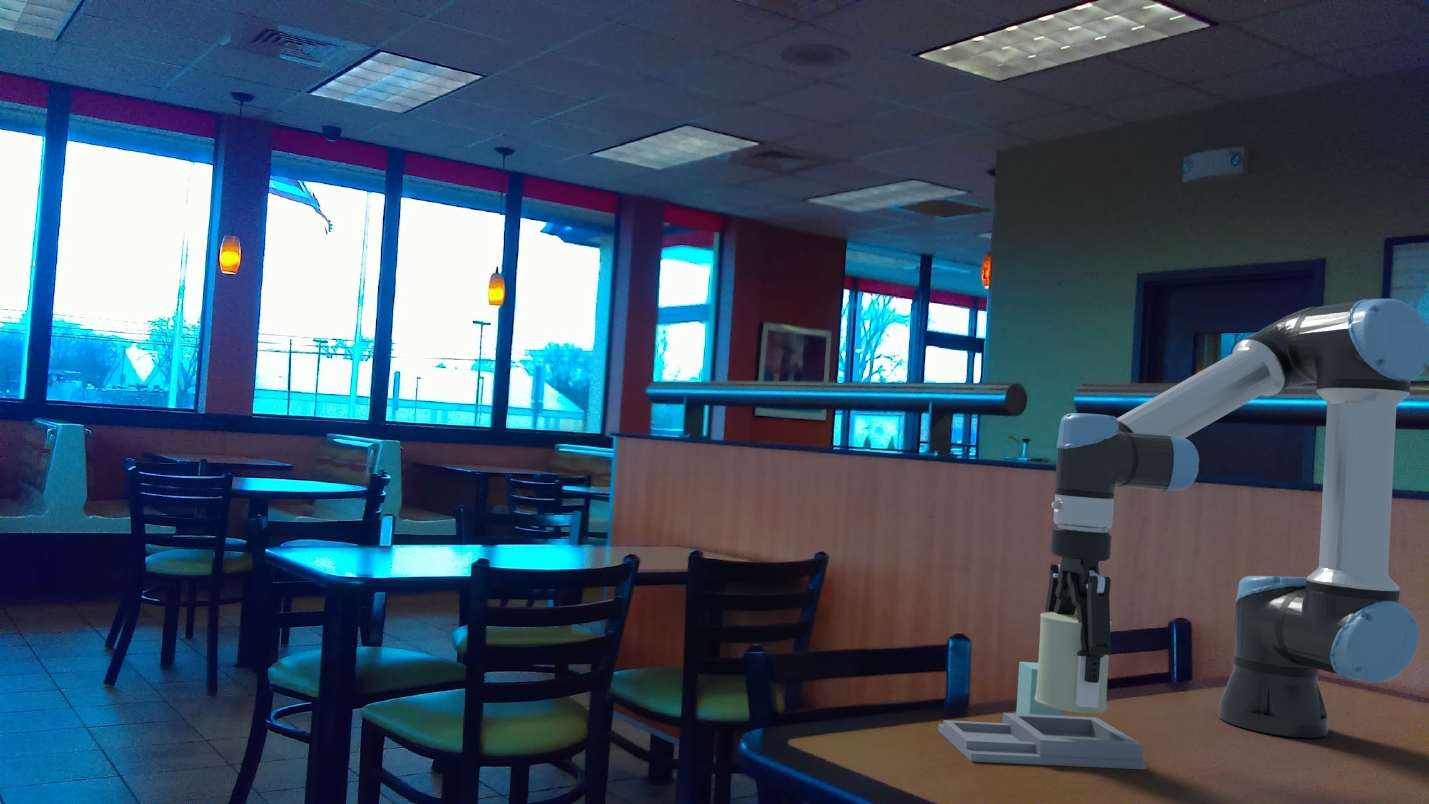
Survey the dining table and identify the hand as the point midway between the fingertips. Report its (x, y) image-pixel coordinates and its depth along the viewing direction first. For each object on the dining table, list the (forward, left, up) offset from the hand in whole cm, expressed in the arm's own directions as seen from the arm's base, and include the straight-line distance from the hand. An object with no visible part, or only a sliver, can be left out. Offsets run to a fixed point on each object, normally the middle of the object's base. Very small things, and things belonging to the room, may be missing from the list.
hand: (1071, 697), depth 145 cm
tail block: (-2, -16, -7) cm, 18 cm away
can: (0, 0, -1) cm, 1 cm away
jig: (+4, 0, -7) cm, 8 cm away
